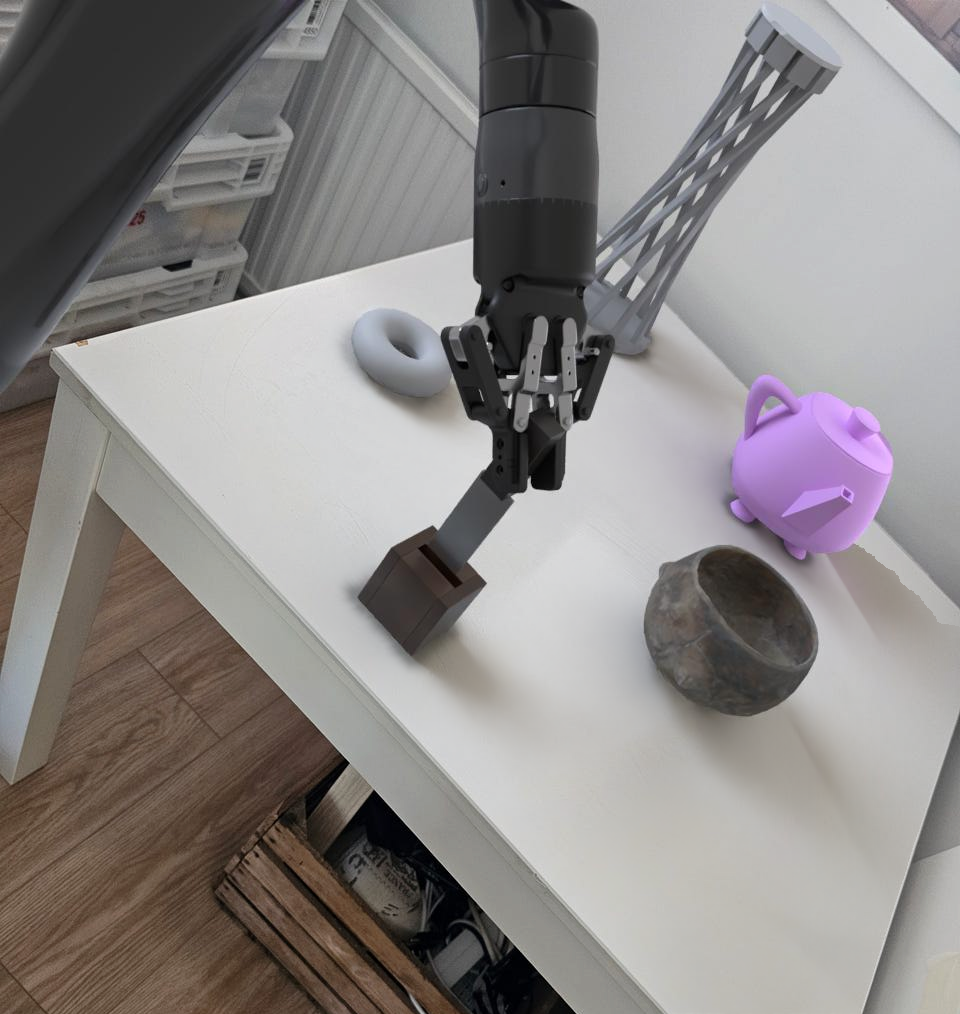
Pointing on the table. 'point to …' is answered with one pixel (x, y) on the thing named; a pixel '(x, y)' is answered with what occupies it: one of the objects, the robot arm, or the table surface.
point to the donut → (393, 368)
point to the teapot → (809, 468)
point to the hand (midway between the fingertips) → (529, 489)
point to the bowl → (729, 631)
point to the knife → (489, 498)
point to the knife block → (419, 592)
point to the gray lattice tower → (802, 74)
